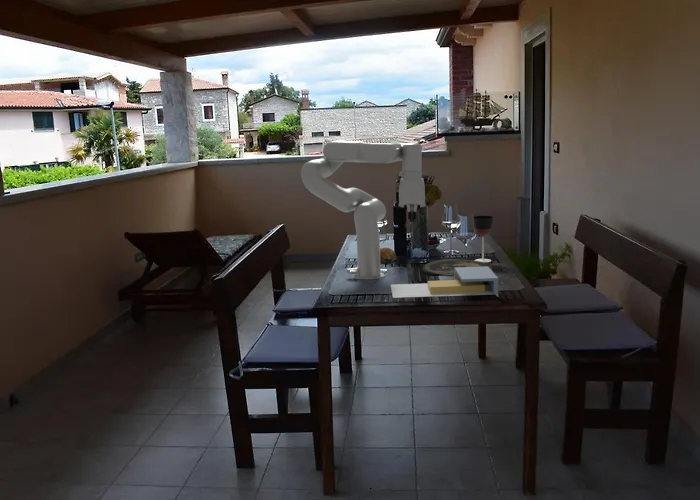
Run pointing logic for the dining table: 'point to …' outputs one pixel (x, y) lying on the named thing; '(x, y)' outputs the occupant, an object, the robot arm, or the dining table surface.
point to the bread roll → (387, 255)
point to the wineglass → (483, 230)
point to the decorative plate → (450, 266)
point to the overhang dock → (459, 274)
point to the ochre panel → (455, 286)
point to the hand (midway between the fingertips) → (412, 221)
